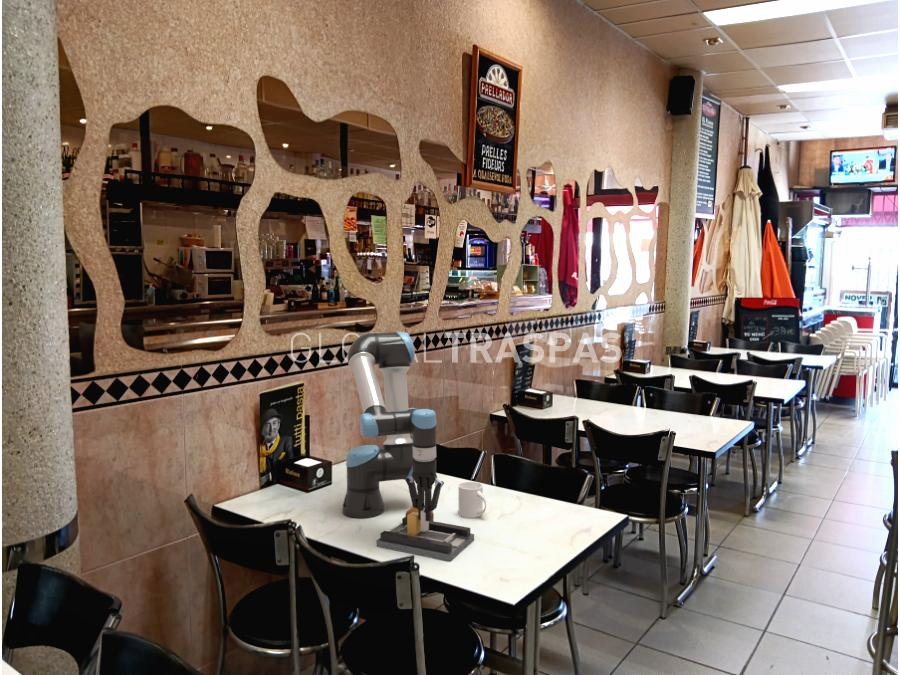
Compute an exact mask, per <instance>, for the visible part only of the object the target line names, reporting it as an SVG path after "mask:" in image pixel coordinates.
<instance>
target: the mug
mask: <svg viewBox="0 0 900 675" xmlns="http://www.w3.org/2000/svg"><path fill="white" fill-rule="evenodd" d="M483 492H484V490H483V483H481V482H477V481H463V482H460V483H459V484H458V514H459V516H460V517H462V518H465V519H476V517H477V518H480V517H481V516H482V515H483V514H484V513H485V512H486V510H487V509H486V508H487V500H486V497H485V495H484V494H483ZM483 504H484V508H483Z"/></svg>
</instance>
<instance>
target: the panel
mask: <svg viewBox="0 0 900 675" xmlns="http://www.w3.org/2000/svg"><path fill="white" fill-rule="evenodd" d="M379 536H380V537H379V538H378V539H376V547H378V548H383V549H387V550H388V549H389V550H392V551H398V552H403V553H409V554H413V555H416V556H417V555H418V556H422V557H428V558H431V557H432V558H433V559H437V560H442V561H447V562H451V561H452V560H453V559H455V558H456V557H457V556H458V555H460V553H462V551H464V550H465V549H466V548H467V547H468V546H469V545H471V544H472V543H473V542H474V541H475V533H472V532H471V527H468V526H462V525H456V524H451V523H446V522H445V523H444V522H441V521H440V522H439V521H434V520H433V521H429V529H428V530H427V531H425V532H423V531H422V533H421V534H420V535H418V536H415V535H410V534H407V516H406V515H405V516H404V517H402V520H401V523H400V524H398V525H397V526H395V527H394V528H392V529H391V530H390V531H388V530H383V531H382V532H380V535H379Z"/></svg>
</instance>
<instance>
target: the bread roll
mask: <svg viewBox="0 0 900 675" xmlns="http://www.w3.org/2000/svg"><path fill="white" fill-rule="evenodd" d="M424 506H425V504H424ZM424 509H425V508H424ZM412 512H417V513H418V509H417V508H413V505H412V506H410V507H409V508H408V509H407V510H406V512H405V516H407V515H409V514H410V513H412ZM434 516H435V514H434V510H433V511H431V520H430V521H434Z"/></svg>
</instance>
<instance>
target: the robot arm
mask: <svg viewBox="0 0 900 675" xmlns="http://www.w3.org/2000/svg"><path fill="white" fill-rule="evenodd" d="M415 353H416V352H415V346H414V343H413V340H412V338H411V336H410V334H408V333H407V332H402V331H392V332H391V331H390V332H367V333H365V334H362V335H360V336H359V337H357V338H356V339H355V340H354V341H353V343H352V344H351V345H350V347H349V350H348V352H347V363H348V368H349V369H350V370H351V371H352V373H353V377H354V381H355V384H356V388H357V393H358V396H359V401H360V404H361V409H362V412H363V413H362V414H360V415H359V420H358V421H359V422H358V423H359V431H360V434H361V436H362V437H364V438H368V437H369V438H372V437H373V438H375V437H384V436H386V440H384V441H383V443H382V447H383V448H379V445H376V444H362V445H359V446H355V447H354V448H352V449H350V450H349V451H347V454H346V460H345V461H346V463H345V465H346V493H345V496H344V500H343V502H342V509H341V510H342V514H343V515H345V516H346V517H348V518H349V517H350V518H355V519H366V518H367V519H368V518H373V517H376V516H380V515H382V514H383V513H384V512H385V501H384V500H383V496H382V493H381V490H380V482H389V481H391V482H392V481H399V480H401V481H402V480H405V483H406V484H407V486H408V490H409V491H408V492H409V495H410V500H411V501H410V502H411V504H412V506H413V508H417V509H418V518H419V520H421V531H423V532H425V531H427V530H428V529H429V521H430V520H431V511H433V512H434V511H435V510H436V509H437V506H438V502H439V499H440V494H441V489H442V487H443V486H444V484H445V482H444V481H443V480H440V479H438V476H437V459H436V458H437V414H436V411H435V410H433V409H429V408H421V409H419V408H416V407H410V408H409V394H408V393H409V392H408V377H407V373H408V371H409V369H410V368H411V364H412V363H414V361H415ZM375 365H378V370H379V372H381V373H382V376H383V389H384V390H383V392H384V397H383V394H382V390H381V386H380V383H379V380H378V376H377V373H376V368H375ZM411 434H412V435H411ZM411 436H412V437H411ZM433 485H434V489H433ZM432 490H433V494H432ZM424 505H425V506H424ZM424 508H425V509H424Z"/></svg>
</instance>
